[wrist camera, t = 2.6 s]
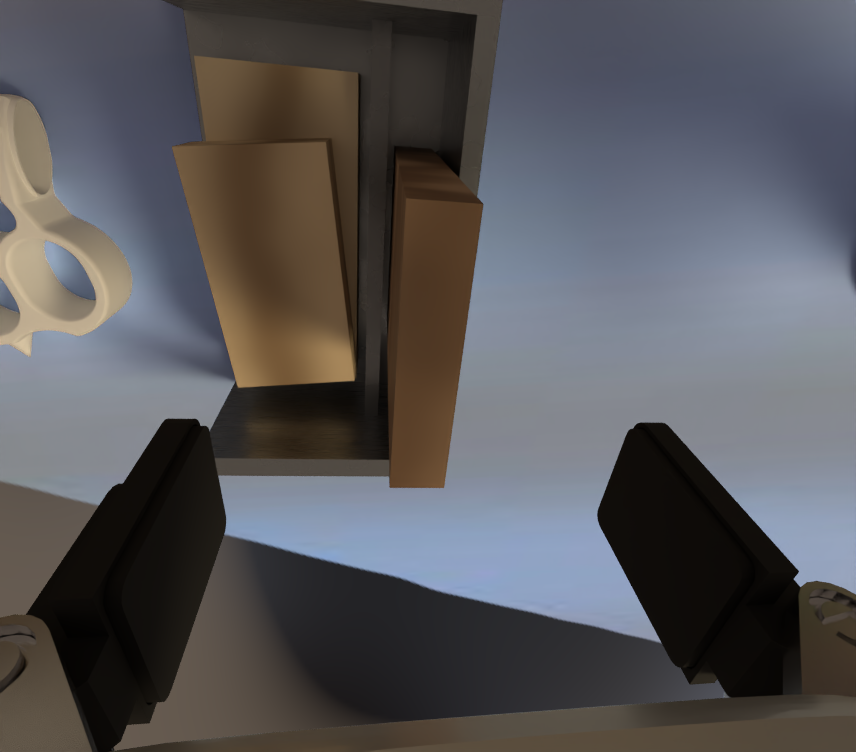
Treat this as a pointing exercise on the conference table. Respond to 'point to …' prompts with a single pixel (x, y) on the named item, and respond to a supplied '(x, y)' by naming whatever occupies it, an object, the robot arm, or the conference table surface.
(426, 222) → the wooden plank
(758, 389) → the conference table surface
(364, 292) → the rack
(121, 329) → the conference table surface
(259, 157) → the offcut upper
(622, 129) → the conference table surface
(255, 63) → the offcut lower
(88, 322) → the white brass knuckles
